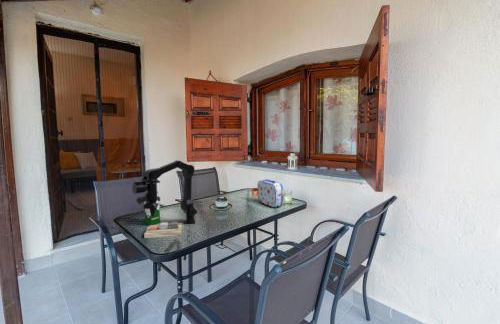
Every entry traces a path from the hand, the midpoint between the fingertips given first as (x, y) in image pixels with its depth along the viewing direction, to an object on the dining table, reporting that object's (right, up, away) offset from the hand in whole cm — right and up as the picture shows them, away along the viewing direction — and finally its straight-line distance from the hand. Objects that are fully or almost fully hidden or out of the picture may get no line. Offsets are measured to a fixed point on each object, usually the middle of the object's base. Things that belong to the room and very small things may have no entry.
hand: (153, 216), depth 150 cm
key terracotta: (0, -10, +1) cm, 10 cm away
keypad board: (+6, -10, +2) cm, 12 cm away
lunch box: (+76, -4, +61) cm, 98 cm away
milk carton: (-7, -9, +18) cm, 21 cm away
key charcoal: (+12, -8, +3) cm, 15 cm away
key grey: (+6, -8, +2) cm, 10 cm away
